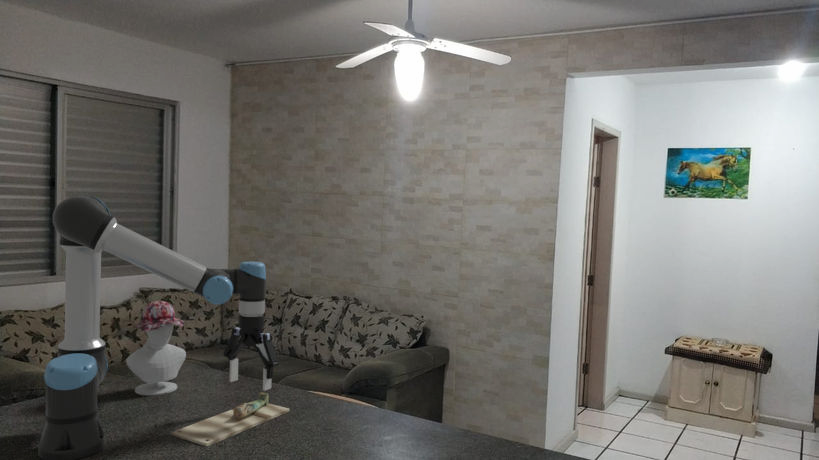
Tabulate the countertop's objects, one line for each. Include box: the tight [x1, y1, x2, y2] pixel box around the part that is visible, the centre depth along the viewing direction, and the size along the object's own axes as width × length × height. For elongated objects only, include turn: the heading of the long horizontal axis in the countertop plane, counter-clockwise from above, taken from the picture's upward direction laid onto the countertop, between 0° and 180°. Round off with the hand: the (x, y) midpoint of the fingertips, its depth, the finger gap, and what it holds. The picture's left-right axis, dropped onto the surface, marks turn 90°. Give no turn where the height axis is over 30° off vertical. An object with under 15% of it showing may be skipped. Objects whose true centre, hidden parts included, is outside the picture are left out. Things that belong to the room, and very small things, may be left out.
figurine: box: [233, 392, 269, 418], centre depth 189 cm, size 6×15×4 cm, turn 154°
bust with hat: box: [125, 300, 187, 396], centre depth 210 cm, size 19×18×30 cm
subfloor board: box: [170, 399, 291, 447], centre depth 183 cm, size 32×14×1 cm, turn 149°
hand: (250, 385), depth 188 cm, fingers open, 13 cm apart
